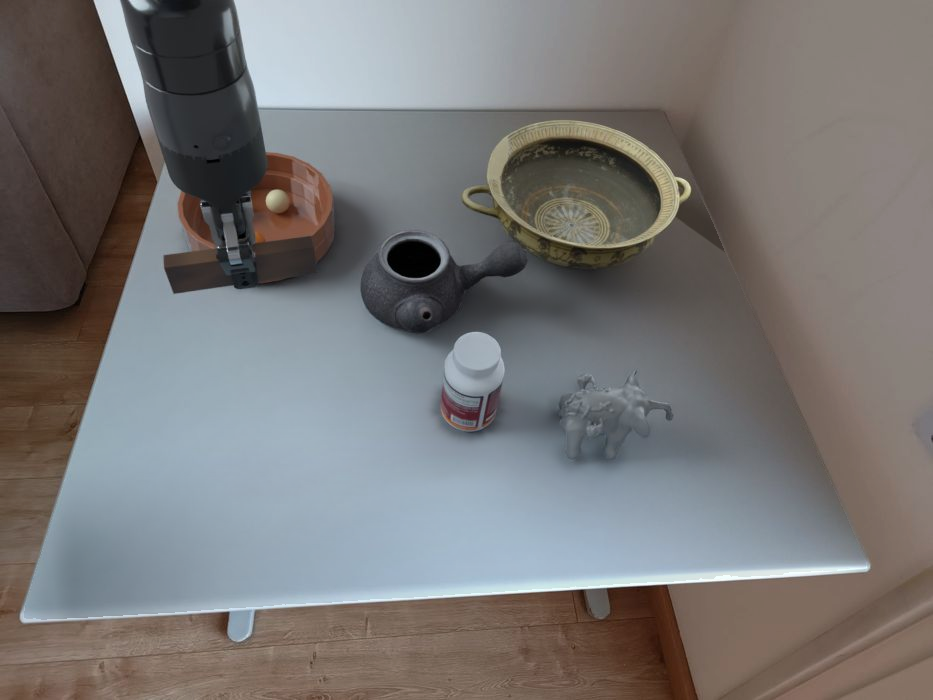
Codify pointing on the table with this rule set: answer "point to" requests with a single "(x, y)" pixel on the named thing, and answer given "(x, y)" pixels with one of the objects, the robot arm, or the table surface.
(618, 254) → the ceramic bowl
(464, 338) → the pill bottle
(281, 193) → the ball cream
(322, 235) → the bowl
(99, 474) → the table surface
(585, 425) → the gray elephant figurine
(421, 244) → the teapot
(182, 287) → the stick
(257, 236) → the ball orange
